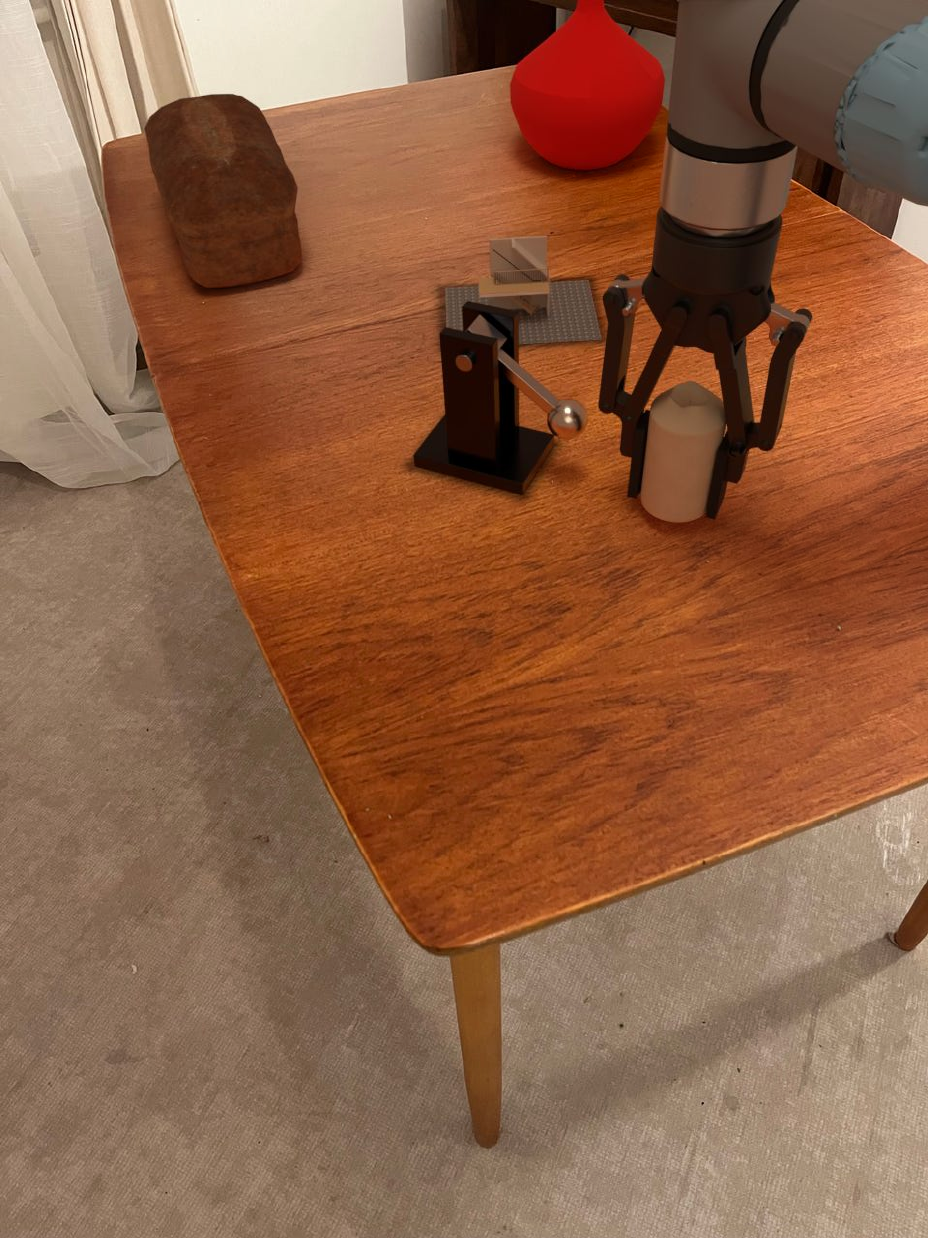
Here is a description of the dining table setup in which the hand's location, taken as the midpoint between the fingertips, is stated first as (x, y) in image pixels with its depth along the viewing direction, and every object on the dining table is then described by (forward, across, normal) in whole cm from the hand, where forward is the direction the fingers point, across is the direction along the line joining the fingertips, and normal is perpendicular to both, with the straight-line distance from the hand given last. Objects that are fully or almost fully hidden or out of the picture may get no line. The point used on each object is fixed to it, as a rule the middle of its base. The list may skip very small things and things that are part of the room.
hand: (675, 497), depth 77 cm
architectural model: (+2, +23, -23) cm, 32 cm away
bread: (+2, +60, -27) cm, 66 cm away
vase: (+2, +30, -60) cm, 67 cm away
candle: (+1, 0, 0) cm, 1 cm away
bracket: (+2, +17, -1) cm, 17 cm away
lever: (-5, +14, -1) cm, 15 cm away
